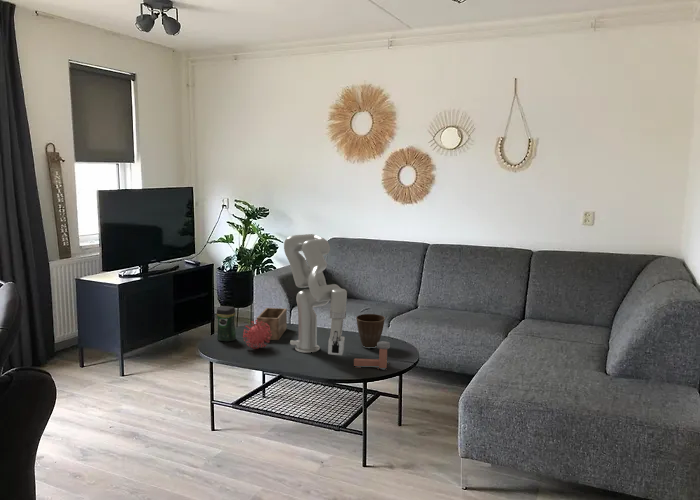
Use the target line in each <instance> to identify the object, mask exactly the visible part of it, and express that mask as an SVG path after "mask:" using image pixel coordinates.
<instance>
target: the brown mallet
mask: <svg viewBox="0 0 700 500" xmlns="http://www.w3.org/2000/svg"><path fill="white" fill-rule="evenodd" d="M390 347H391V343H390V342H389V341H385V340H382V341H381V340H380V341H379V342H377V348H376V349H379V352H378V354H379V355H378V356H379V357H378V359H376V358H354V359H353V367H354V366H379V368H387V367H388V366H387V365H388V364H387V360H388V350H389V349H390ZM379 368H378V369H379ZM387 369H388V368H387Z"/></svg>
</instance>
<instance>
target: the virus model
mask: <svg viewBox="0 0 700 500" xmlns="http://www.w3.org/2000/svg"><path fill="white" fill-rule="evenodd" d="M262 322H263V321H261V322H257V319H255V321H254V320H252V321H250V323H251V324H250V325H248V324H247V325H245V326H244V327H245V328H247V329H245V328H244V329H243V332H242V333H243V334H242V338H243V341H244V342H245V344H246V346H248V347H249V348H251V349H254V350H256V349H259V348H261V349H263V348H265V347H266V346H268V344H269V343H270V341H271V340H270V339H269V338H270V337H269V336H272V334H270V333H271V332H272V331H270V326H269V325H268V324H267V323H266V324H265V323H264V322H263V324H265V325H266V326H268V327H269V328H268V327H266V326H265V325H264V326H263V325H262V326H261V323H262ZM257 323H260V324H258V325H257ZM267 329H268V330H269V331H270V333H269V332H268V330H267ZM267 336H268V337H267ZM266 337H267V339H269V340H267V339H265V338H266Z"/></svg>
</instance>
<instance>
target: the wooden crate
mask: <svg viewBox="0 0 700 500" xmlns="http://www.w3.org/2000/svg"><path fill="white" fill-rule="evenodd" d="M287 311H288V309H287V308H276V307H275V308H273V307H265V309H264V310H262V311H261V313H260V314H259V315H258V316H257V317H256V320H257V321H256V322H261V321H263V322H264V323H265V324H266V323H267V324H268V325H269V326H270V331H272V332H271V333H270V331H269V330H268V329H267V330H268V332H269V333H270V334H272V336H269V337H270V338H269V339H270V340H269V339H267V337H268V336H267V337H266V338H265V339H267V340H269V341H280V339H281V337H282V336H283V335H284V333H285V332H286V330H287V328H288V327H287V326H288V321H287V319H288V318H287V317H288V316H287ZM263 322H262V323H261V326H262V325H263V326H264V325H265V324H263ZM256 324H257V325H258V324H260V323H256ZM265 326H266V325H265ZM266 327H268V326H266ZM268 328H269V327H268Z"/></svg>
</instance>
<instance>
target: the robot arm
mask: <svg viewBox="0 0 700 500" xmlns="http://www.w3.org/2000/svg"><path fill="white" fill-rule="evenodd" d="M330 250H331V246H330V243H329V242H328V240H327V239H325V238H324V237H321V236H320V235H317V234H313V233H312V234H311V233H310V234H309V233H308V234H294V235H289V236H288V237H286V238H285V240H284V242H283V251H284V254H285V257H286V259H287V260H288V262H289V265H290V270H291V273H292V276H293V280H294V283H295V286H296V287H297V288H306V289H302V290H300V291H298V293H297V294H296V298H295V299H296V304H297V305H296V306H297V316H298V321H297V322H298V323H297V324H298V325H297V326H298V327H297V328H298V331H297V334H298V336H297V337H298V338H297V339H296V340H292V339H291V340H290V342H289V344H290V345H291V346H294V347H295V351H297V352H299V353H305V354H311V352H312V353H316V352H318V351H319V350H320V348H321V347H320V345H318V343H317V340H318V338H317V337H318V336H317V335H318V318H317V317H318V316H317V313H316V312H315V310H314V308H316V307H322V306H326V305H327V304H329V302H330V305H329V306H330V308H329V318H330V319H331V322H330V334H329V338H330V339H332V338H333V344H332V353H339V345H338V344H339V339H340V338H341V336H342V335H343V326H344V325H343V324H344V320H345V319H346V316H347V300H348V297H347V296H348V291H347V290H346V289H345V288H341V287H340V286H339V285H338V284H335V283H332V284H327V281H326V277H325V275H324V271H325V269H327V267H328V264H327V261H326V260H325V257H324V256H326V255H328V254H329V253H330ZM300 252H302V253H303V254H301V253H300ZM303 255H304V256H303ZM337 338H338V339H337ZM337 340H338V341H337Z"/></svg>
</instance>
